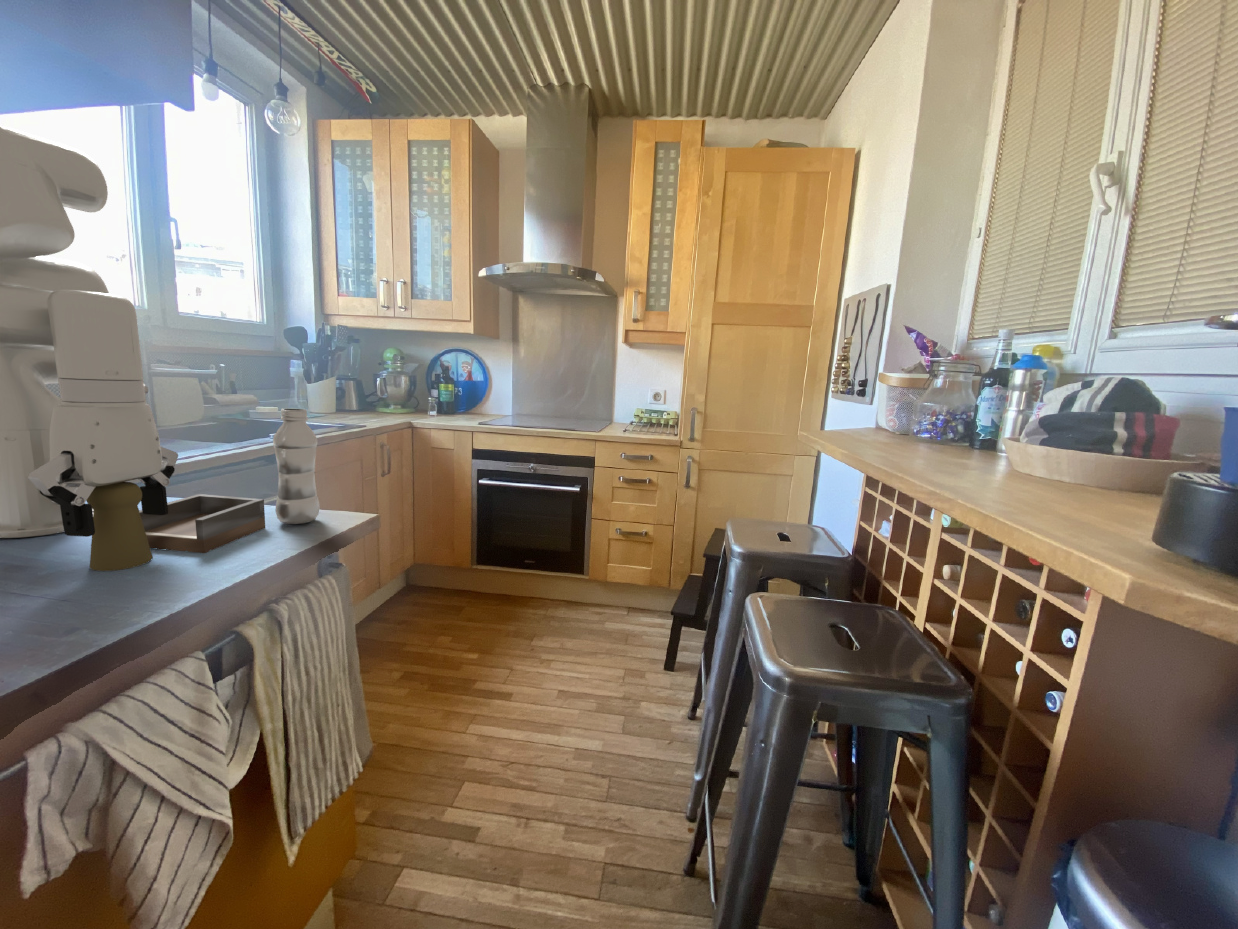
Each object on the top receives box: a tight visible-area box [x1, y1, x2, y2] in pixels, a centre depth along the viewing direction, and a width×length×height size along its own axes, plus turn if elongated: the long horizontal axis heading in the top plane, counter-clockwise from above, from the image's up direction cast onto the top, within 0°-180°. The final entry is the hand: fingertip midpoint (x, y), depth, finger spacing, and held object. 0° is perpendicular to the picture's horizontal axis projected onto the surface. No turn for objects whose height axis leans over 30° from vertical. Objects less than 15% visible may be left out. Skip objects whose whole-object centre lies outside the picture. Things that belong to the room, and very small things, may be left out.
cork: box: [85, 481, 154, 572], centre depth 66 cm, size 6×6×11 cm
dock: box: [139, 493, 266, 554], centre depth 77 cm, size 11×12×5 cm
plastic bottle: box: [272, 407, 320, 525], centre depth 85 cm, size 6×7×20 cm
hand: (120, 524), depth 65 cm, fingers open, 9 cm apart
